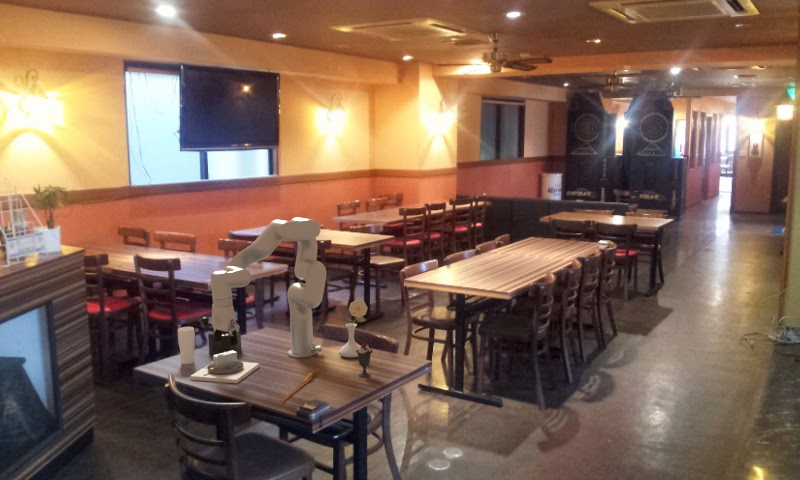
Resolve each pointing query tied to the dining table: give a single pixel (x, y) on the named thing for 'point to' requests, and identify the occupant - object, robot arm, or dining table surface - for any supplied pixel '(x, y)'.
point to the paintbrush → (302, 383)
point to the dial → (225, 363)
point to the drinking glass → (186, 344)
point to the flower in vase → (353, 328)
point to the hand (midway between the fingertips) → (226, 342)
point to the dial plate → (227, 378)
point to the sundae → (364, 358)
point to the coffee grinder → (222, 344)
